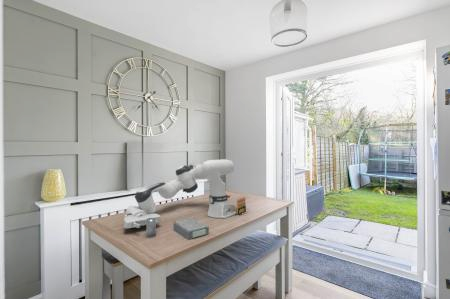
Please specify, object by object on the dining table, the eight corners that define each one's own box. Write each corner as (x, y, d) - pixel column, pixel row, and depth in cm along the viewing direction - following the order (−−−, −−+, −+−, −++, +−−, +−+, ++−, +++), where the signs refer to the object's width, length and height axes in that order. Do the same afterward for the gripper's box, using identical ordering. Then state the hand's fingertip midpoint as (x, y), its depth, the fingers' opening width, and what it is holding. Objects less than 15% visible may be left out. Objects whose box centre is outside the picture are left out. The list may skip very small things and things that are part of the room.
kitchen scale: (192, 225, 144) (193, 217, 144) (209, 234, 130) (209, 225, 130) (173, 229, 136) (173, 221, 136) (188, 240, 122) (188, 231, 122)
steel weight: (153, 233, 131) (153, 217, 130) (157, 236, 127) (157, 219, 126) (144, 235, 127) (144, 218, 127) (148, 238, 124) (148, 221, 123)
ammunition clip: (237, 216, 163) (238, 198, 163) (235, 215, 165) (235, 198, 164) (245, 212, 172) (246, 196, 172) (243, 211, 173) (244, 195, 173)
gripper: (155, 219, 147) (165, 226, 136) (121, 226, 134) (128, 234, 124) (155, 209, 147) (165, 215, 136) (121, 215, 134) (128, 222, 123)
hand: (147, 224), depth 130 cm, fingers open, 8 cm apart
